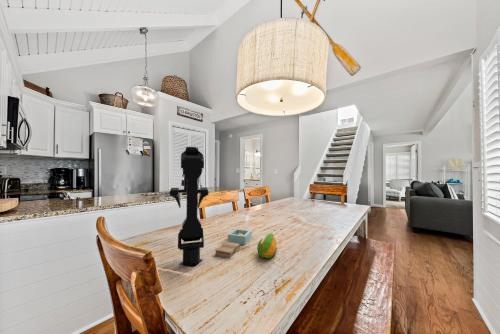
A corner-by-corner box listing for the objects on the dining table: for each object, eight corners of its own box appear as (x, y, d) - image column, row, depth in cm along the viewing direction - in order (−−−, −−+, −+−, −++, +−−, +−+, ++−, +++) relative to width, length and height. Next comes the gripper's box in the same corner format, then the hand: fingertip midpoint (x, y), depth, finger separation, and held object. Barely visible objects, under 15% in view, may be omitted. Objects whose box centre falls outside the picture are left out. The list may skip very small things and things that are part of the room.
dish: (245, 246, 93) (245, 236, 93) (227, 244, 96) (227, 234, 96) (251, 239, 102) (251, 230, 102) (235, 237, 105) (235, 228, 105)
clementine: (242, 241, 97) (242, 234, 97) (235, 240, 98) (235, 234, 98) (244, 239, 100) (244, 232, 100) (238, 238, 101) (238, 232, 101)
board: (230, 257, 80) (230, 252, 80) (215, 255, 82) (215, 250, 82) (239, 248, 89) (239, 243, 89) (226, 246, 91) (226, 241, 91)
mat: (232, 260, 78) (232, 259, 78) (211, 257, 81) (211, 256, 81) (243, 249, 90) (243, 247, 90) (224, 246, 93) (224, 245, 93)
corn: (255, 241, 78) (264, 227, 97) (253, 261, 78) (263, 242, 97) (274, 245, 76) (280, 229, 96) (273, 265, 76) (278, 245, 96)
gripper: (207, 174, 114) (206, 201, 117) (171, 174, 109) (171, 202, 112) (209, 179, 103) (208, 209, 106) (169, 179, 98) (169, 210, 101)
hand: (189, 207), depth 106 cm, fingers open, 9 cm apart
